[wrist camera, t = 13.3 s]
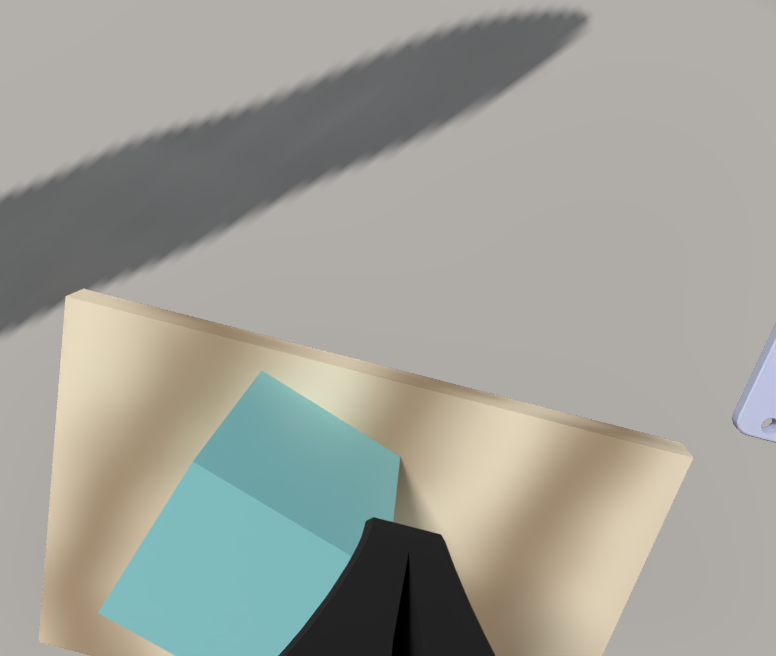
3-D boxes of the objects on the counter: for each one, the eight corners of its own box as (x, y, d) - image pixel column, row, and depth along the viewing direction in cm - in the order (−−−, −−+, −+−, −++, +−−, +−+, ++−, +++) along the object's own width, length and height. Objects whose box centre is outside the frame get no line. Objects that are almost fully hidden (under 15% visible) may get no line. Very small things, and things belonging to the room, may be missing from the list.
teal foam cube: (400, 456, 19) (387, 577, 14) (317, 565, 21) (276, 712, 15) (261, 369, 19) (192, 461, 13) (186, 488, 20) (97, 612, 15)
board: (680, 442, 19) (760, 540, 15) (543, 747, 24) (571, 899, 19) (83, 288, 19) (-31, 336, 15) (54, 621, 24) (-41, 742, 19)
